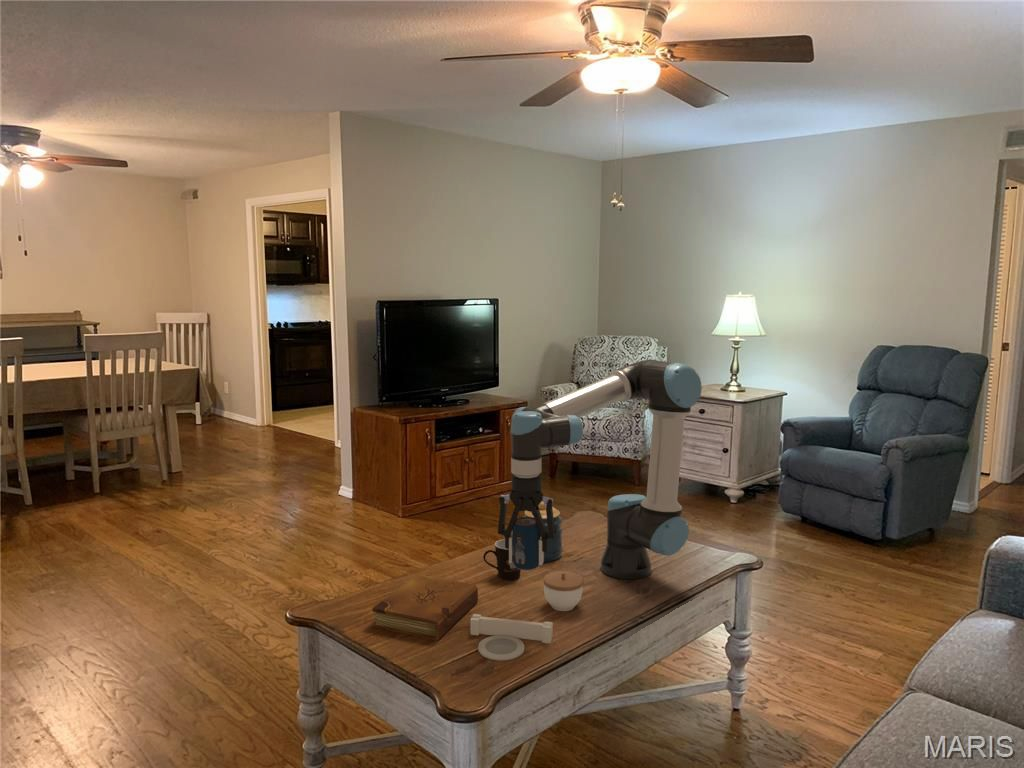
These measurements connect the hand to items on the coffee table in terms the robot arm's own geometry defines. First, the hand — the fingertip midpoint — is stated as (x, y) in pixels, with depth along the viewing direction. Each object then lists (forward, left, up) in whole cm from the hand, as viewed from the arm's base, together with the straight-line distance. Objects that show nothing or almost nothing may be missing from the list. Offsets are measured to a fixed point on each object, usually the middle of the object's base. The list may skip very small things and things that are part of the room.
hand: (526, 561), depth 181 cm
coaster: (+3, +14, -16) cm, 22 cm away
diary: (+26, +1, -17) cm, 31 cm away
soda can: (0, 0, -1) cm, 1 cm away
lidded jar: (-8, -12, -17) cm, 22 cm away
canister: (+4, -47, -17) cm, 50 cm away
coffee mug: (+12, -28, -17) cm, 35 cm away
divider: (+2, +8, -16) cm, 18 cm away
